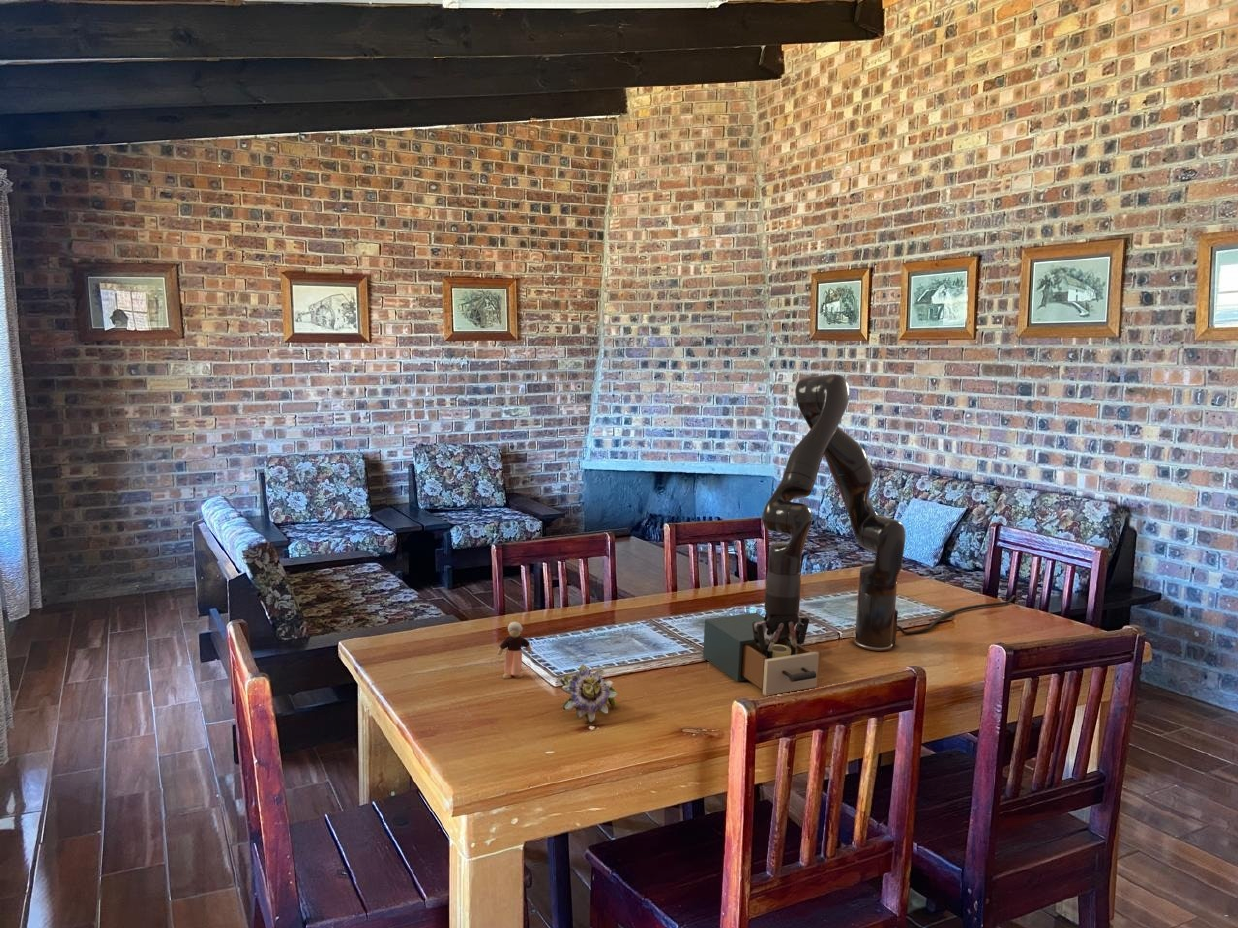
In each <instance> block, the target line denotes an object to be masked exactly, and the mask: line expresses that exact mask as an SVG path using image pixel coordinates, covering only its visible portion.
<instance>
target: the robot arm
mask: <svg viewBox="0 0 1238 928" xmlns="http://www.w3.org/2000/svg"><path fill="white" fill-rule="evenodd" d="M794 395H795V400H796V404H797V407H798V409H799V411H800V413H801V416H802V417H803V419H804V420H805V422H806V424H807V426H808V427H809V431H808V432H807V433H806V435H804V436H803V437H802V439H800V441H799V442H798V443H797V444H796V446H794V448H793V450H792V451H791V453H790V455H789V456H788V460H787V461H786V465H785V468H784V472H783V475H782V478H781V480H780V482H779V484H778V486H777V487H776V488H775V490H774V492H773V493H772V494H771V496H770V497H769V499H768V501H767V502H766V503H765V505H764V508H763V510H762V514H761V515H762V516H761V520H762V524H763V526H764V528H765V529H766V530H767V531H770V532H773V533H779V534H785V535H790V539H789V541H783V542H774V543H772V544H770V546H769V549H768V562H767V574H766V578H765V592H764V593H765V594H764V611H765V612H764V613H765V614H764V616H763V617H764V619H763V621H760V622H756V621H754V622H753V623H752V627H753V634H754V641H755V645H756V646H757V647H759V648H760V649H762V650H763V653H762V655H764V656H766V657H767V659H771V658H772V653H773V651H772V649H773V646H774V643H775V642H777V640H778V637H780V636H782V635H784V636H785V638H786V642H787V644H788V645H786V646H788V647H789V648H791V655H795V650H796V647H797V645H798V644H802V645H804V643H805V640H806V636H807V631H808V627H809V624H810V619H809V618H808V617H806V616H804V615H803V614H800V615H799V612H800V603H801V587H802V585H801V584H802V580H801V579H802V578H801V569H802V554H803V550H804V546H805V544H806V540H807V538H808V534H809V532H810V530H811V526H812V523H813V513H812V510H811V508H810V507H809V505H807V504H805V503H802V502H794V501H793V500H795V499H796V500H797V499H801V498H807V497H809V496H810V495H811V494H812V492H813V490H814V487H815V483H816V480H817V477H818V473H819V470H820V467H821V464H822V460H823V458H824V459H825V461H826V464H827V466H828V469H829V471H830V474H831V477H832V479H833V480H834V484H835V485H836V487H837V489H838V491H839V493H840V496H841V498H842V501H843V504H844V506H845V509H846V511H847V515H848V517H849V521H850V524H851V527H852V528H851V529H852V530H853V534H854V537H855V540H856V542H857V543H858V545H859V546H860V547H862V548H863V549H864V550H866V551H869V552H872V553H875V559H874V562H873V563H866V564H863V565H861V567H860V568H859V576H858V588H857V590H858V591H857V604H856V615H855V627H854V630H853V636H854V638H853V643H854V645H855V646H857V647H859V648H861V649H864V650H868V651H875V652H884V651H890V650H891V649H892V648H893V647H895V646H896V639H897V633H898V630H899V631H900V632H901V633H902V634H903V635H915V634H919V633H923V632H927V631H928V630H929V631H930V630H931V629H932V628H933V627H934V626H935V625H937V623H940V622H941V621H942V620H944V619H945V618H947V617H949V616H951V615H954V614H956V613H959V612H964V611H967V610H973V609H978V608H987V607H994V606H1003V605H1008V604H1011V603H1012V601H1014V600H1015V601H1017V600H1018V597H1016V595H1014V594H1013V595H1012V596H1010V598H1009V599H1008V600H1006V601H1001V602H990V603H983V604H975V605H970V606H964V607H960V608H957V609H953V610H951V611H948V612H946V613H945V614H943V615H941V616H939V617H937V618H936V619H935V620H934V621H932V622H931V623H930V624H929V625H928V626H926V627H923V628H920V629H917V630H911V631H910V630H908V631H907V630H904V628H903V627H902V626H900V625H898V615H899V611H898V609H897V608H896V603H897V593H898V580H899V575H900V573H901V571H902V567H903V560H904V554H905V553H904V552H905V545H906V529H905V526H904V524H903V523H902V522H901V521H899V520H897V519H895V518H890V517H886V516H883V515H879V514H878V512H877V511H876V509H875V508H874V506H873V502H872V501H871V498H870V493H871V489H872V487H873V482H874V471H873V468H872V465H871V463H870V460H869V458H868V456H867V453H866V451H865V449H864V448H863V446H861V444H859V443H858V442H857V441H856V440H855V439H854V438H853V437H852V436H851V435H849V433H847V432H845V431H844V430H843V429H841V427H839V425H840V423H841V420H842V419H843V416H844V415H845V413H846V411H847V408H848V405H849V401H850V395H851V393H850V386H849V383H848V381H847V379H846V378H845V377H844V376H843V375H841V374H838V373H837V374H836V373H835V374H833V373H830V374H821V375H812V376H811V375H810V376H806V377H803V378H801V379H799V380H798V381H797V383H796V385H795V391H794ZM795 625H796V629H795V630H794V627H795ZM765 626H766V627H767V628H766V631H765ZM764 631H765V633H764ZM771 634H772V635H773V636H771ZM799 636H800V637H799Z"/></svg>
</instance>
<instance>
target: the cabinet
mask: <svg viewBox="0 0 1238 928" xmlns="http://www.w3.org/2000/svg"><path fill="white" fill-rule="evenodd" d="M764 617H765V616H763V615H761V613H760V614H759V613H757V612H750V613H744V614H736V615H735V614H734V615H726V616H719V617H711V618H705V619H704V630H703V648H702V649H703V650H702V651H703V653H702V658H704V659H705V660H706V661H708V662H709V663H710V664H712V665H713V666H714V667H715V668H718V669H719V670H720V671H722V673H724V674H726V675H727V676H728V677H730V678H731V679H732V680H734V681H736V682H737V683H740V682H745V681H749V680H748V679H746V678H745V677H743V676H742V675H741V664H742V646H743V644H748V643H755V641H754V634H753V627H752V623H753V622H754V621H756V622H760V621H763V619H764ZM766 628H767V627H766V626H765V631H766ZM765 631H764V633H765ZM771 636H773V635H772V634H771ZM782 638H785V636H784V635H782V636H780V637H778V639H782Z"/></svg>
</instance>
